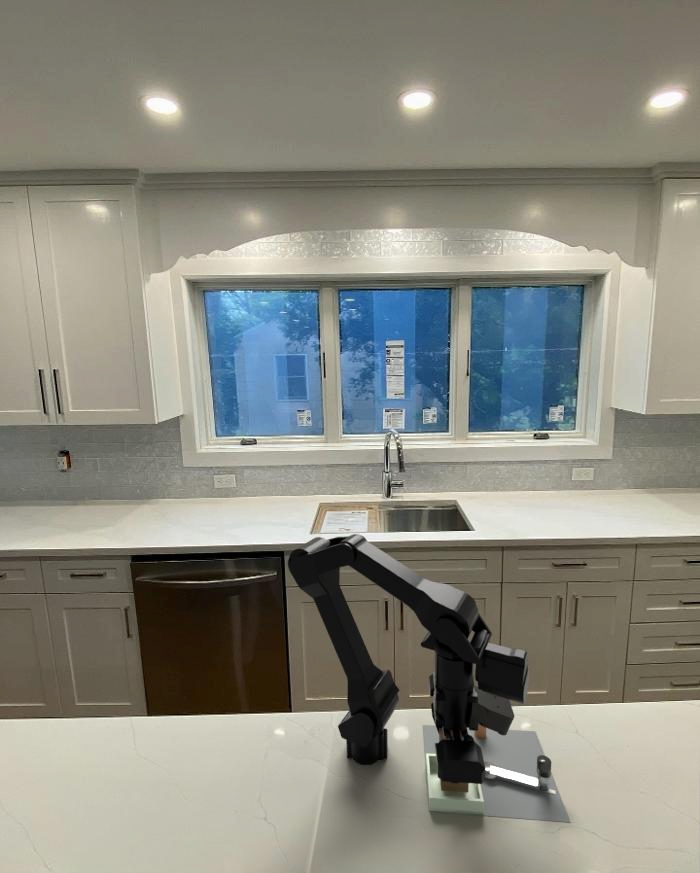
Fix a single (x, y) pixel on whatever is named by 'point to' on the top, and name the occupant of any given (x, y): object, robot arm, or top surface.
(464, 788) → the block
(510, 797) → the plate
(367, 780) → the top surface
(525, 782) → the crank
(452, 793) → the tray
